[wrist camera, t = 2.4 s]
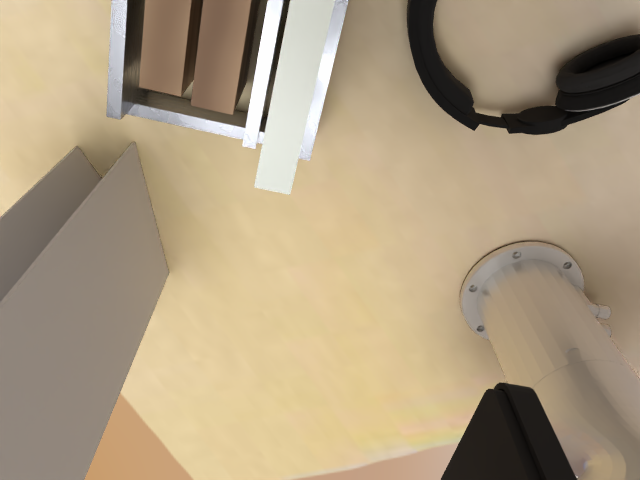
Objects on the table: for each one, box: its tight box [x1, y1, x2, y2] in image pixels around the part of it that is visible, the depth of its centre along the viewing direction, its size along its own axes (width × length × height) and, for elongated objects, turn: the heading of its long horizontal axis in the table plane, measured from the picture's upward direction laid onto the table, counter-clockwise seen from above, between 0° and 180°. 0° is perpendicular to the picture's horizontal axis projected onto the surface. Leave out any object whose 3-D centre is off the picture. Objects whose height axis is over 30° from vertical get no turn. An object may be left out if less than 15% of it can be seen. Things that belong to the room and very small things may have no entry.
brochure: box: [0, 142, 169, 480], centre depth 40 cm, size 14×6×30 cm, turn 5°
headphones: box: [407, 0, 640, 135], centre depth 42 cm, size 18×8×20 cm
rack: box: [107, 0, 349, 161], centre depth 40 cm, size 15×19×8 cm
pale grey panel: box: [254, 0, 335, 195], centre depth 36 cm, size 2×12×20 cm, turn 167°
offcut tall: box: [191, 0, 260, 115], centre depth 40 cm, size 3×12×9 cm, turn 167°
